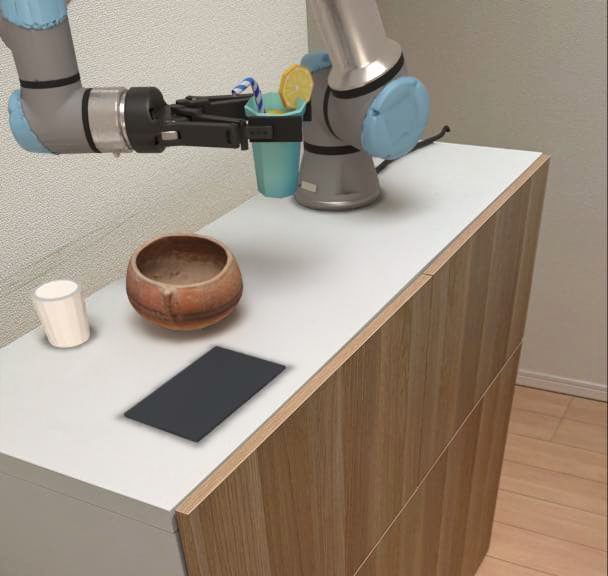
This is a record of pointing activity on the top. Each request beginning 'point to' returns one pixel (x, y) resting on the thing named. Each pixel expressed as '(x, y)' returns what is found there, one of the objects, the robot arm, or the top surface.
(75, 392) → the top surface
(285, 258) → the top surface
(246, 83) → the cup
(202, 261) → the bowl
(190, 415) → the placemat
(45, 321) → the shot glass
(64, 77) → the robot arm
